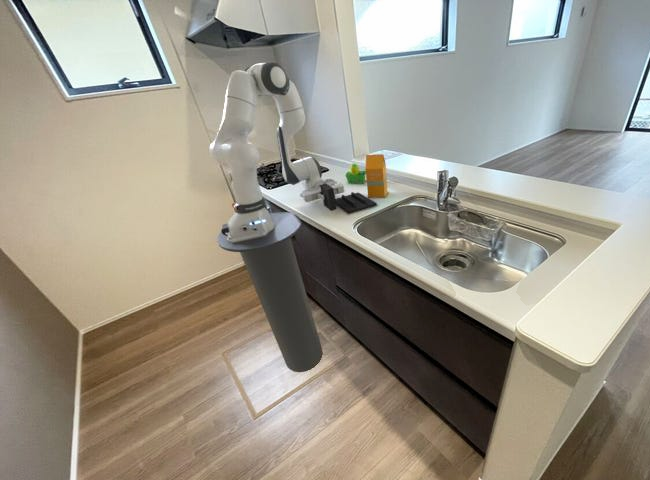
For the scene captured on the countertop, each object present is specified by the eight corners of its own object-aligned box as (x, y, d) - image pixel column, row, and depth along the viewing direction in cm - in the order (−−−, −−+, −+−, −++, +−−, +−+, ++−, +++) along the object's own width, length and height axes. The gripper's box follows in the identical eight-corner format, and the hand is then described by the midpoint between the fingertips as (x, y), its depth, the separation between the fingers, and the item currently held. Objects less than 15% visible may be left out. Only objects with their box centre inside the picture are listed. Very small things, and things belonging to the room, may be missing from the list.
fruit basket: (367, 179, 178) (365, 159, 171) (365, 184, 170) (362, 164, 164) (348, 180, 180) (346, 160, 173) (345, 185, 172) (342, 165, 166)
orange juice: (384, 197, 151) (382, 156, 139) (368, 197, 153) (363, 157, 141) (387, 192, 157) (385, 152, 145) (371, 192, 159) (367, 152, 147)
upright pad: (331, 211, 137) (327, 189, 131) (323, 205, 143) (320, 184, 138) (336, 209, 138) (333, 188, 132) (329, 203, 144) (326, 183, 139)
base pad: (349, 214, 138) (348, 207, 136) (332, 201, 153) (331, 195, 151) (376, 205, 143) (376, 199, 141) (358, 194, 158) (357, 188, 156)
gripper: (297, 187, 142) (306, 195, 131) (336, 178, 149) (347, 184, 138) (300, 200, 145) (309, 208, 135) (338, 190, 152) (349, 197, 142)
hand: (329, 196), depth 137 cm, fingers closed on upright pad, 3 cm apart
